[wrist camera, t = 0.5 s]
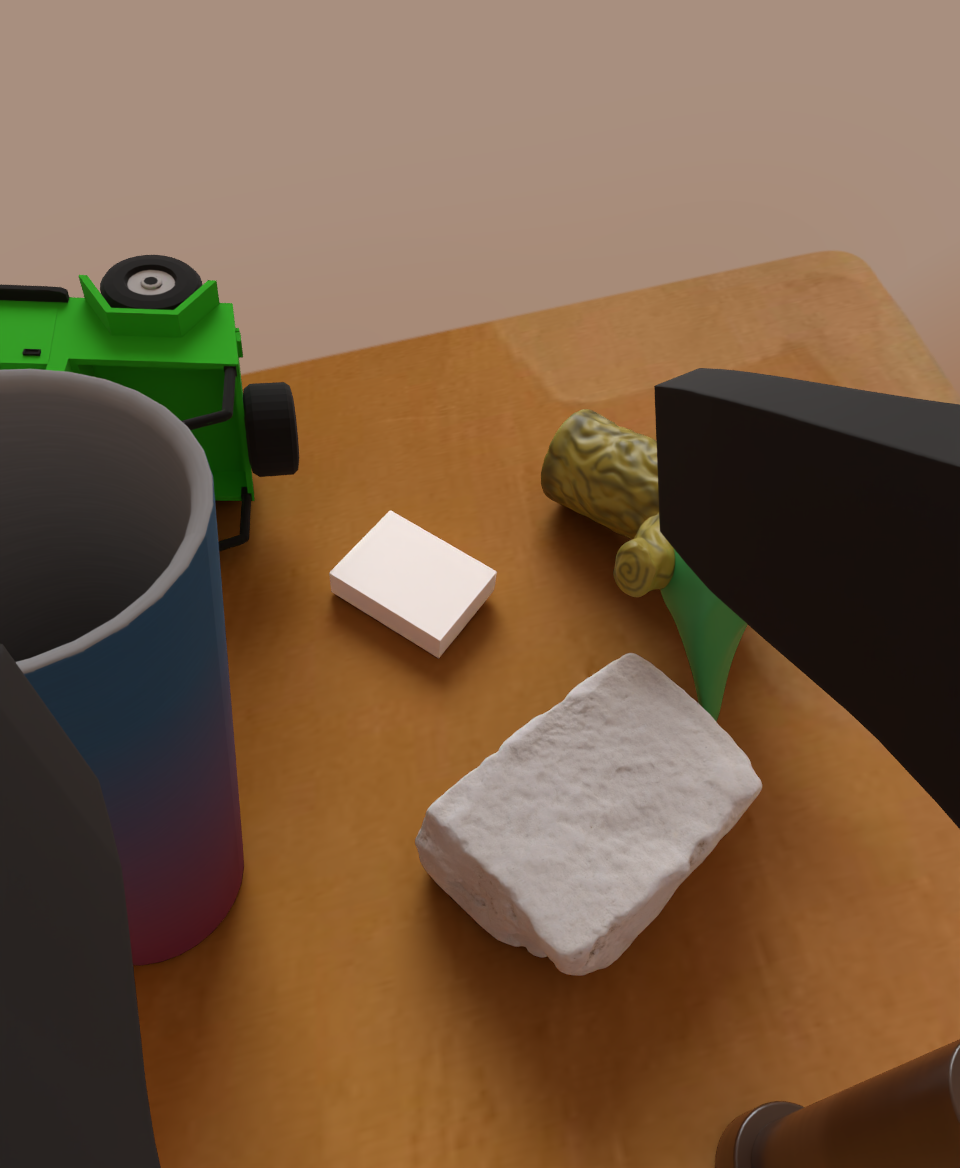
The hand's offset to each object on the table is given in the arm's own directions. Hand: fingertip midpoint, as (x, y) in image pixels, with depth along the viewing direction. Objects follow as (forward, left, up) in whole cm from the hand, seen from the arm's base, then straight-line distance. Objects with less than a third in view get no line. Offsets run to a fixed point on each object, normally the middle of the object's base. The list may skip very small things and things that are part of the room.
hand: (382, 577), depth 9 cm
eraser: (+9, -7, -16) cm, 20 cm away
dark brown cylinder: (-9, -7, -18) cm, 21 cm away
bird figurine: (+6, -18, -18) cm, 26 cm away
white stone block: (0, -8, -19) cm, 21 cm away
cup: (+6, +3, -18) cm, 20 cm away
